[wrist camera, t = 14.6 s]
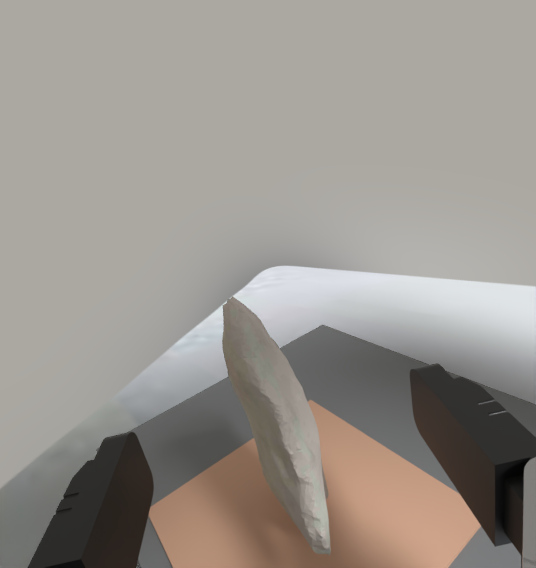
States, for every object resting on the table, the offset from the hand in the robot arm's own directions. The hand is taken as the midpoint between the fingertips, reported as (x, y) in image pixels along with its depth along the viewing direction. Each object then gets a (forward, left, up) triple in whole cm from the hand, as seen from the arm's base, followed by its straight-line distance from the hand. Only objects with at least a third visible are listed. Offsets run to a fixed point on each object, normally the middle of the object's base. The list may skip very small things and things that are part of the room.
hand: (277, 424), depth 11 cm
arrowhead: (+2, -1, -7) cm, 7 cm away
